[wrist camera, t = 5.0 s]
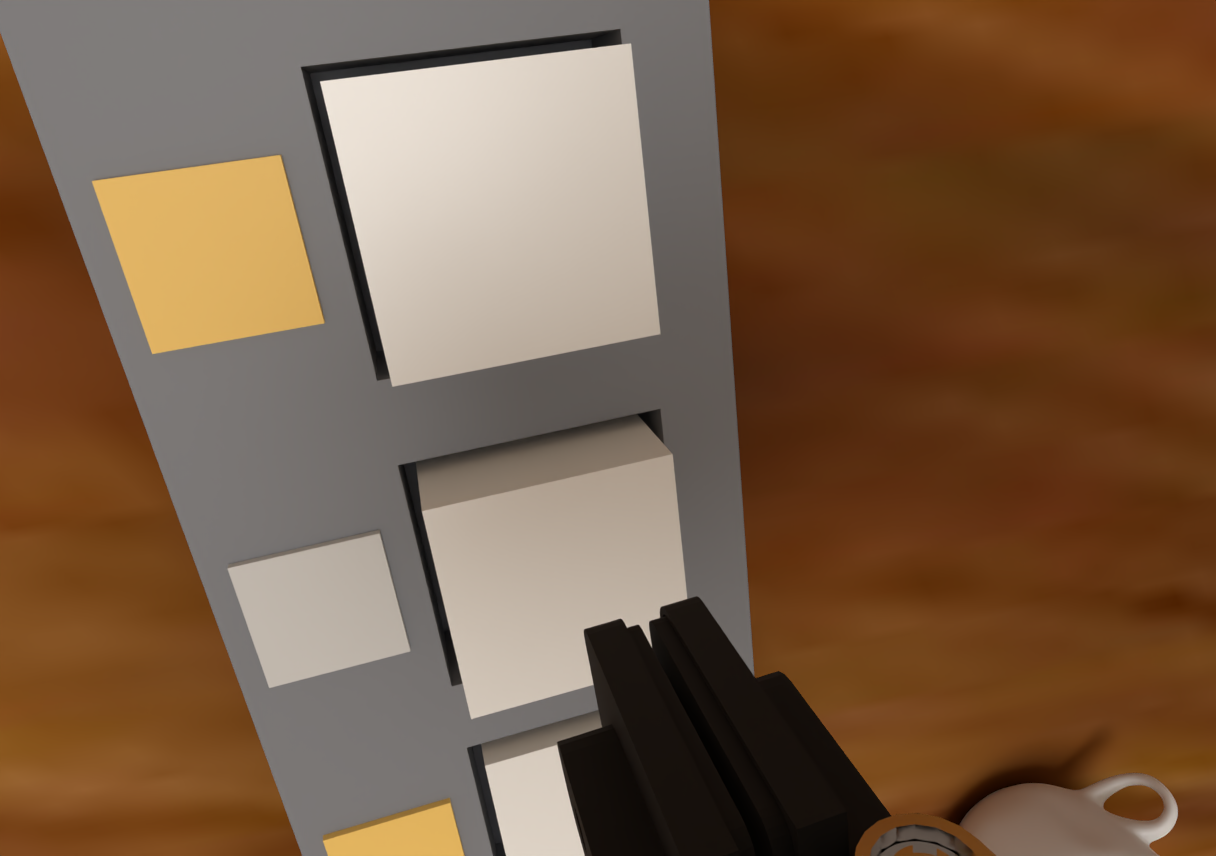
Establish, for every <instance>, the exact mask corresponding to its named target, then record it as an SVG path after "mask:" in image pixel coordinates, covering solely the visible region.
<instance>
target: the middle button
mask: <svg viewBox="0 0 1216 856" xmlns="http://www.w3.org/2000/svg"><path fill="white" fill-rule="evenodd" d="M416 468H417V476H418V484H419V492H420V500H421V508H422V514H423V518H424V522H425V527H426V531H427V535H428V539H429V543H430V548H431V552H432V556H433V560H434V565H435V569H436V573H437V577H438V581H439V586H440V590H441V594H442V598H443V603H444V607H445V611H446V615H447V619H448V624H449V628H450V632H451V636H452V641H453V645H454V649H455V653H456V657H457V662H458V666H459V670H460V674H461V679H462V683H463V687H464V691H465V695H466V700H467V704H468V708H469V712H470V717H471V719H474V718H477V717H481V716H484V715H488V714H491V713H495V712H499V711H502V710H506V709H509V708H513V707H516V706H520V705H524V704H527V703H531V702H534V701H538V700H541V699H545V698H549V697H552V696H556V695H559V694H563V693H566V692H570V691H574V690H577V689H581V688H584V687H588V686H591V685H594V684H593V679H592V674H591V669H590V664H589V659H588V654H587V649H586V644H585V638H584V629H587V628H590V627H594V626H597V625H600V624H604V623H607V622H611V621H614V620H617V619H622V620H623V621H624V623H625V625H626V627H627V628H628V627H631V626H634V625H640V627H641V628H642V630H643V632H644V634H645V636H646V638H647V639H648V641H649V643H650V645H651V647H652V643H651V637H650V631H649V622H650V621H651V620H655V619H658V618H660V608H661V607H662V606H665V605H668V604H672V603H675V602H679V601H682V600H685V599H687V590H686V581H685V571H684V561H683V551H682V541H681V531H680V521H679V512H678V502H677V492H676V482H675V472H674V462H673V454H672V453H671V452H670V451H669V450H668V448H667V447H666V446H665V445H664V444H663V443H662V442H661V441H660V439H659V438H658V437H657V436H656V435H655V434H654V433H653V432H652V430H651V429H650V428H649V427H648V426H647V425H646V424H645V423H644V421H643V420H642V419H641V418H640V417H639V416H638V415H637V414H634V415H629V416H624V417H620V418H615V419H610V420H606V421H601V422H596V423H592V424H587V425H583V426H578V427H573V428H569V429H564V430H559V431H555V432H550V433H545V434H541V435H536V436H531V437H527V438H522V439H518V440H513V441H508V442H504V443H499V444H494V445H490V446H485V447H480V448H476V449H471V450H467V451H462V452H457V453H453V454H448V455H443V456H439V457H434V458H429V459H425V460H420V461H416Z"/></svg>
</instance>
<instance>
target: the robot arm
mask: <svg viewBox="0 0 1216 856" xmlns="http://www.w3.org/2000/svg"><path fill="white" fill-rule="evenodd" d="M649 631H650V637H651V643H652V647H651V645H650V643H649V641H648V639H647V638H646V636H645V634H644V632H643V630H642V628H641V627H640V625H634V626H631V627H628V628H627V627H626V625H625V623H624V621H623V620H622V619H617V620H614V621H611V622H607V623H604V624H600V625H597V626H594V627H590V628H587V629H584V638H585V644H586V649H587V654H588V659H589V664H590V669H591V674H592V679H593V684H594V689H595V695H596V700H597V705H598V710H599V715H600V720H601V725H602V728H599V729H595V730H592V731H589V732H586V733H583V734H580V735H577V736H573V737H570V738H567V739H564V740H561V741H558V742H557V746H558V751H559V756H560V760H561V765H562V769H563V773H564V778H565V782H566V786H567V791H568V795H569V799H570V803H571V807H572V811H573V814H574V818H575V822H576V826H577V830H578V833H579V837H580V840H581V844H582V848H583V851H584V855H585V856H996V855H995V854H994V853H993V852H992V851H991V850H990V849H989V848H987V847H986V846H985V845H984V844H983V843H982V842H981V841H980V840H979V839H977V838H976V837H975V836H973V835H972V834H971V833H969V832H968V831H966V830H965V829H964V828H962V827H961V826H959V825H957V824H954V823H952V822H950V821H947V820H945V819H943V818H940V817H936V816H931V815H925V814H920V813H910V814H896V815H893V816H891V815H890V814H889V812H888V811H887V810H886V808H885V807H884V806H883V804H882V803H881V802H880V800H879V799H878V798H877V796H876V795H875V794H874V792H873V791H872V789H871V788H870V787H869V785H868V784H867V783H866V781H865V780H864V779H863V777H862V776H861V775H860V773H859V772H858V771H857V769H856V768H855V767H854V765H853V764H852V763H851V761H850V760H849V759H848V757H847V756H846V755H845V753H844V752H843V751H842V749H841V748H840V747H839V745H838V744H837V743H836V741H835V740H834V739H833V737H832V736H831V735H830V733H829V732H828V730H827V729H826V728H825V726H824V725H823V724H822V722H821V721H820V720H819V718H818V717H817V716H816V714H815V713H814V712H813V710H812V709H811V708H810V706H809V705H808V704H807V702H806V701H805V700H804V698H803V697H802V696H801V694H800V693H799V692H798V690H797V689H796V688H795V686H794V685H793V684H792V682H791V681H790V680H789V679H788V678H787V677H786V675H785V674H783V673H781V672H779V671H778V672H774V673H771V674H768V675H765V676H762V677H759V678H755V677H754V675H753V674H752V672H751V671H750V669H749V668H748V666H747V665H746V664H745V662H744V661H743V659H742V658H741V656H740V655H739V653H738V652H737V650H736V649H735V648H734V646H733V645H732V643H731V642H730V640H729V639H728V637H727V636H726V634H725V633H724V632H723V630H722V629H721V627H720V626H719V624H718V623H717V621H716V620H715V618H714V617H713V616H712V614H711V613H710V611H709V610H708V608H707V607H706V605H705V604H704V602H703V601H702V600H701V599H700V598H699V597H697V596H696V597H692V598H689V599H685V600H682V601H679V602H675V603H672V604H668V605H665V606H662V607H661V608H660V618H658V619H655V620H651V621H650V622H649Z"/></svg>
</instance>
